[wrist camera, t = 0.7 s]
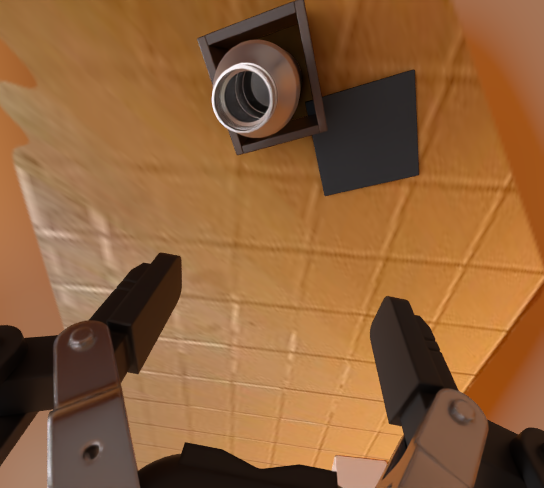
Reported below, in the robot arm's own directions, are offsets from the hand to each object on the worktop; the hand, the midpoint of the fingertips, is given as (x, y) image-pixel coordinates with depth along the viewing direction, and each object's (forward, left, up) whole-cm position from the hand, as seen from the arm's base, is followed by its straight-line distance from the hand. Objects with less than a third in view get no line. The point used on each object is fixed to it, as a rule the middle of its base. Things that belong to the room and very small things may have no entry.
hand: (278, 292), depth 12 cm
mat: (+3, +8, -30) cm, 31 cm away
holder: (-6, -1, -30) cm, 31 cm away
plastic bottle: (-6, -1, -30) cm, 31 cm away
